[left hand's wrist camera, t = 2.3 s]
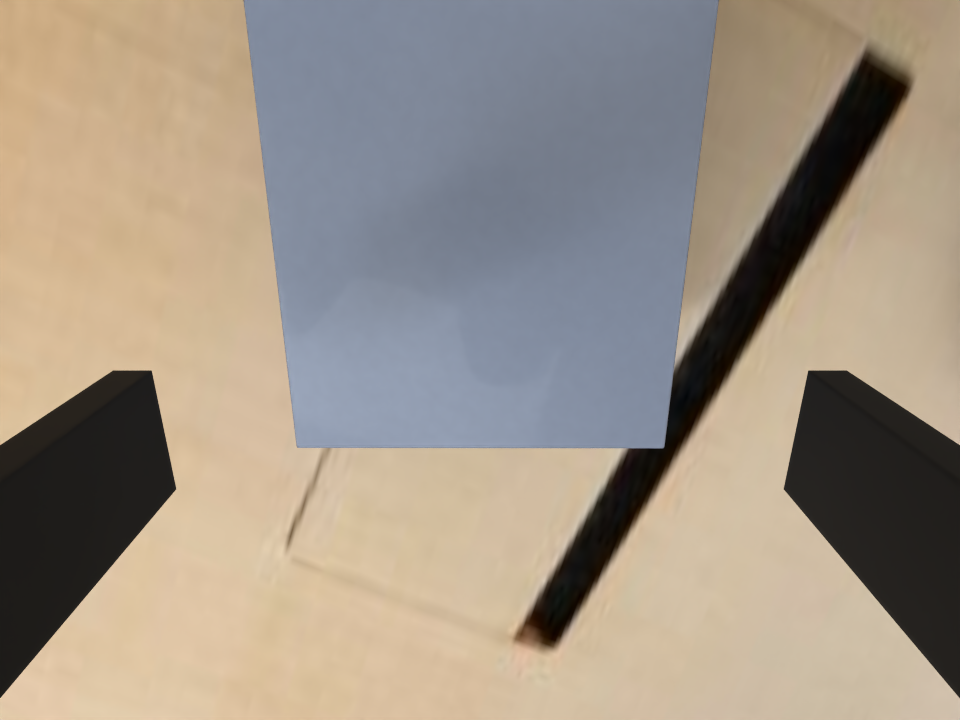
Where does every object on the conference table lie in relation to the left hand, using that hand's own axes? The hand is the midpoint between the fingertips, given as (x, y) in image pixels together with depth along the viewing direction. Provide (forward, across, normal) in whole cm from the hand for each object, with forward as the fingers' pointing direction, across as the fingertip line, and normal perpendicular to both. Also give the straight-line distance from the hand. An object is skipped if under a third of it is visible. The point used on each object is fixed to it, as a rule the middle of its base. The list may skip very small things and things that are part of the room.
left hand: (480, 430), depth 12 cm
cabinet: (+15, 0, -6) cm, 16 cm away
